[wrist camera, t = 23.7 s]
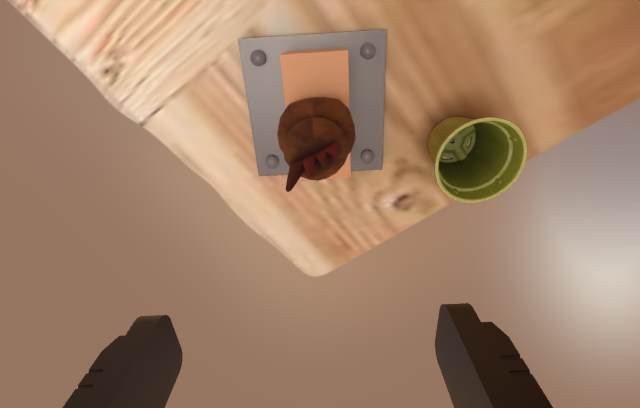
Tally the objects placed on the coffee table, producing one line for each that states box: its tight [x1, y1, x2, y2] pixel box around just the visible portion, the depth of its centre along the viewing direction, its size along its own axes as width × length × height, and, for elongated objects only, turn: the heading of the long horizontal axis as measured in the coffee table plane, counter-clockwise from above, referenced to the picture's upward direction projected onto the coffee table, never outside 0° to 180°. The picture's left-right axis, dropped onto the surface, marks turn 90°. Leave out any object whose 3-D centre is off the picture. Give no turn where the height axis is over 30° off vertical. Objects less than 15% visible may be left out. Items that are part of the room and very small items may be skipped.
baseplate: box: [238, 29, 386, 176], centre depth 39 cm, size 16×16×2 cm
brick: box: [280, 48, 351, 180], centre depth 36 cm, size 6×13×6 cm, turn 4°
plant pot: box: [428, 117, 527, 202], centre depth 38 cm, size 9×9×9 cm
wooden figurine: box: [277, 97, 356, 192], centre depth 27 cm, size 7×6×15 cm
